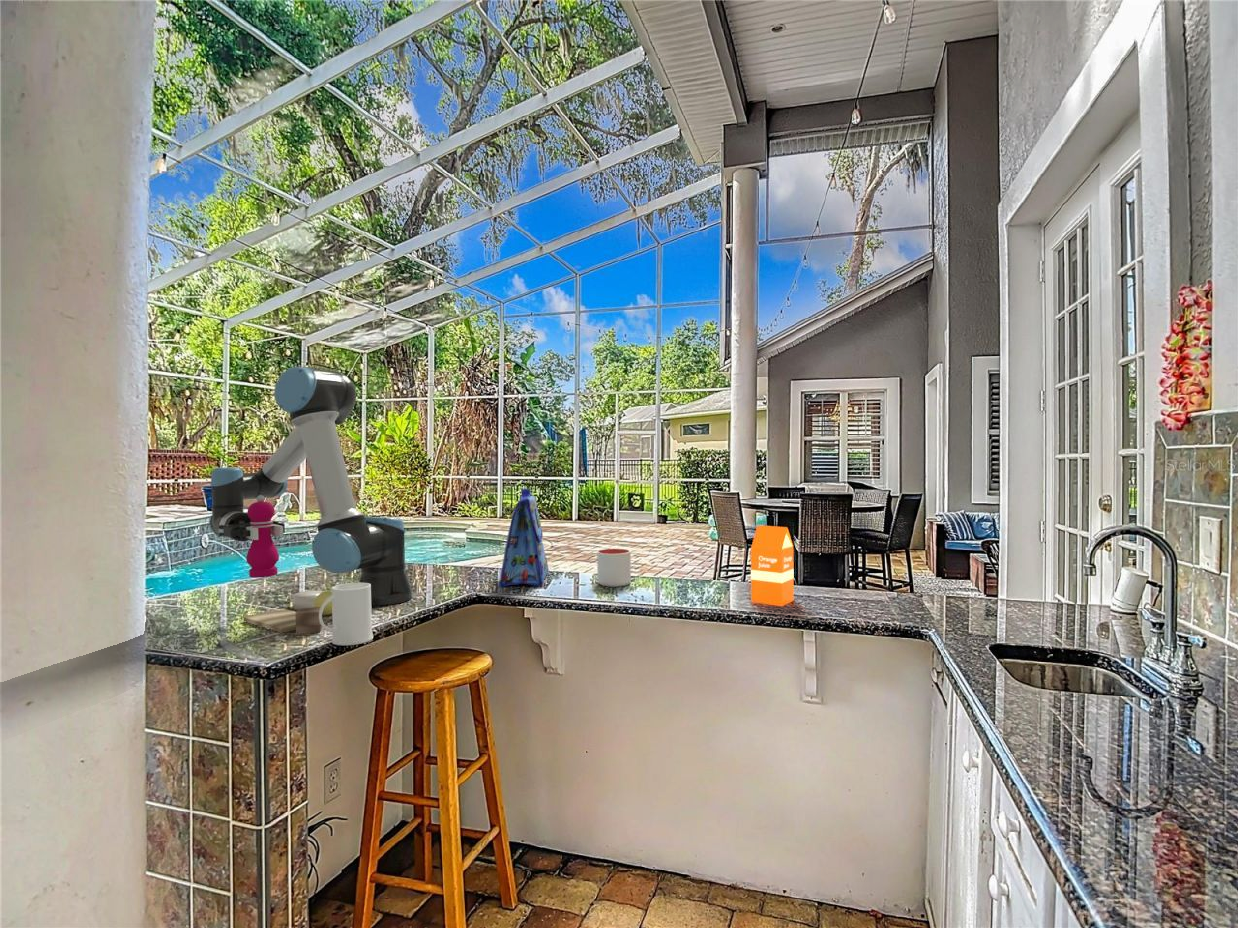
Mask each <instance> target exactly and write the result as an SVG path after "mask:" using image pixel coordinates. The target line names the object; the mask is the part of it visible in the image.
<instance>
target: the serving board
mask: <svg viewBox="0 0 1238 928" xmlns="http://www.w3.org/2000/svg"><path fill="white" fill-rule="evenodd" d="M295 614H296V611H293V610H290V609H287V608H279V609H276V610H271V611H266V612H262V613H261V612H260V613H256V614H252V615H246V616H243V618H242V619H243V621H246V622H249V623H252V624H255V625H258V626H257V627H259V626H261V627H260V628H262V627H265V628H268V629H267V630H269V629H271V630H270V631H272V630H274V631H273V632H275V631H277V632H276V633H278V632H280V633H279V634H284V633H287V632H292V631H296V616H295ZM246 622H245V623H246ZM249 623H248V624H249ZM252 624H251V625H252ZM255 625H254V626H255ZM265 628H264V629H265ZM283 632H284V633H283Z"/></svg>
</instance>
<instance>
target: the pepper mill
mask: <svg viewBox="0 0 1238 928" xmlns="http://www.w3.org/2000/svg"><path fill="white" fill-rule="evenodd" d="M265 499H266V498H264V496H262V495H259V496H258V497H257V499H256V501H255V502H253V503H252V504H250V505H249V506H248V508H247V512H246V513H248V517H249V518H250V519H251V520H252V522H250V524H251V526H250V527H253V528H258V539H259V540H253V539H251V541H252V542H251V543H250V546H249V548H248V551H247V553H246V562H247V564H248V565H249V566H250V567H251V568H249V570H248V575H249V577H250V578H253V579H254V578H255V579H259V578H261V579H262V578H269V577H274V576H277V575H278V567H277V566H276V564H277V562H278V561H279V559H280V555H279V553H280V552H279V550H278V548H277V547H276V544H275V542H274V541H273V538H272V535H271V526H273V524H272V522H273V521H274V520H272V519H273V518H274V516H275V508H274V505H273V504H272V503H270V502H268V501H265Z"/></svg>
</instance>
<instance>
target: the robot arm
mask: <svg viewBox="0 0 1238 928" xmlns="http://www.w3.org/2000/svg"><path fill="white" fill-rule="evenodd" d="M274 398H275V399H274V400H275V403H276V405H277V406H278V407H279V409H281V410H282V411H284V412H286V413H289V418H290V422H291V424H292V425H294V426H295V428H294V429H293V430H292V431H291V433H289V435H288V436H287V437H286V438H285V439H284V441H282V443H281V444H280V445H279V446H278V448H277V449H276V450H275V451H274V453H272V455H271V456H270V457H269V458H268V459H267V461H266V462H265V463H264V464H263V465H262V466H261V467H260V468H259V469H258V470H257V472H243V469H242V468H241V467H239V466H235V467H233V466H232V467H231V466H229V467H228V466H227V467H214V468H213V469H212V470H211V475H210V486H211V488H210V489H211V499H212V500H211V503H212V506H211V507H212V508H211V513H212V514H211V516H210V517H209V519H208V526H209V529H210V531H212V533H214V534H215V535H216V536H218V537H220V538H221V537H222V538H226V539H230V540H234V542H247V541H250V540H259V539H258V528H253V527H250V526H251V524H250V522H252V520H251V519H250V518H249V517H248V513H247V512H244V501H246V500H253V499H254V500H257V497H258V496H259V495H262V496H264V498H265V499H269V498H274V497H280V496H282V495H284V494H285V493H286V492H287V490H288V489H287V488H288V486H289V478H290V477H291V476H292V475H293V474H294V472H296V470H297V469H298V468H299V467H300V465H301V464H302V463H303V462H304V461H305V460H307V465H308V469H309V472H310V477H311V480H312V484H313V489H314V493H315V497H316V501H317V505H318V509H319V513H320V520H319V521H318V522H317V524H316V527H317V531H318V532H317V533H316V534H315V536H314V537H313V542H312V544H311V549H312V555H313V557H314V561H316V563H317V564H318V566H320V568H322V569H324V570H325V571H327V572H328V573H331V574H343V573H346V574H347V573H350V572H351V573H352V572H354V571H355V570H360V575H359V579H358V582H360V583H369V584H371V607H373V606H374V607H375V606H388V605H389V606H390V605H394V604H395V605H396V604H400V603H404V602H405V603H406V601H409V600H411V599H413V588H412V586H411V583H410V580H409V577H408V574H407V572H406V551H405V547H406V545H405V533H406V531H405V523H404V520H403V519H401V518H400V517H385V516H384V517H380V516H379V517H376V516H365V514H364V512H363V513H362V512H361V511H359V510H358V509H357V507H356V503H355V498H354V495H353V490H352V487H351V483H350V479H349V474H348V471H347V465H346V463H345V458H344V455H343V451H342V447H341V443H340V437H339V434H338V431H337V430H338V429H337V426H340V425H342V424H343V423H344V421H346V419H347V418H348V417H349V416H350V414H351V413H352V411H353V409H354V407H355V405H356V402H357V390H356V387H355V385H354V382H353V381H352V380H351V378H349V377H348V376H347V375H345V374H344V373H342V372H340V371H335V370H326V369H319V368H313V367H312V368H311V367H309V366H293V367H290V368H287V369H285V371H283V372H282V373H281V374H280V376H279V377H278V380H277V381H276V382H275V386H274ZM272 521H273V522H272V524H273V526H271V537H272V536H273V537H277V538H284V534H285V533H286V532H285V530H286V529H285V526H286V525H285V523H284V522H279V521H275V520H272Z"/></svg>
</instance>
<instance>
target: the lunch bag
mask: <svg viewBox="0 0 1238 928" xmlns="http://www.w3.org/2000/svg"><path fill="white" fill-rule="evenodd" d="M520 493H521V497H520V498H519V500H518V501H517V503H516V505H515V507H514V509H513V513H512V516H511V520H510V525H509V529H508V532H507V538H506V542H505V547H504V548H505V549H504V554H503V560H502V566H501V570H500V571H501V572H500V577H499V587H509V586H516V585H517V586H519V585H521V584H524V585H529V586H530V585H531V586H535V587H541V586H543V585H544V582H545V578H546V576H547V575H548V574H549V571H550V569H549V565H548V564H549V563H548V560H547V557H546V553H545V549H544V548H545V547H544V543H543V539H542V538H543V536H544V535H543V530H542V524H541V518H540V515H539V509H538V504H537V499H536V495H534V494H533V493H532V494H531V488H529V487H528V488H521V489H520Z"/></svg>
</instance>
